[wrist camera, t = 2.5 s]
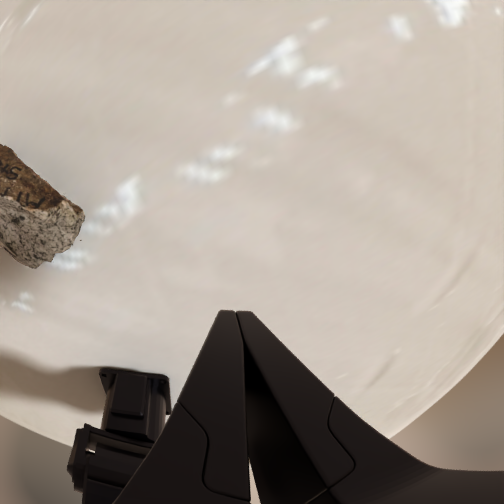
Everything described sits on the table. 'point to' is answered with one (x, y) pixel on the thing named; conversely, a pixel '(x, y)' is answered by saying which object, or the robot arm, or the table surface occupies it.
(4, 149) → the rock sample
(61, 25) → the table surface
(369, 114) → the table surface
